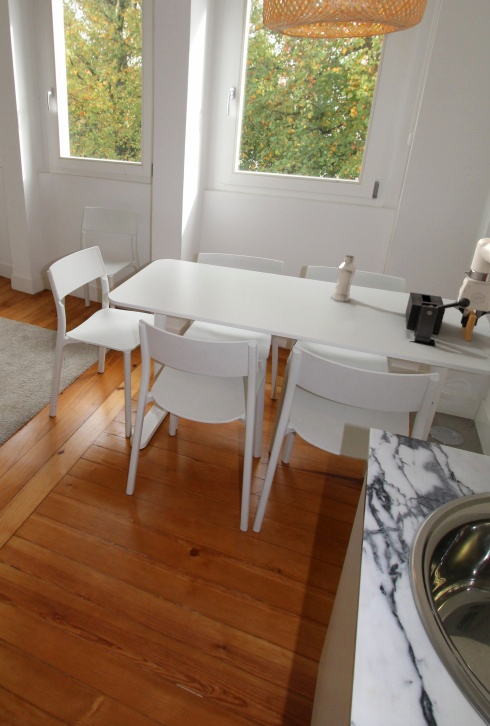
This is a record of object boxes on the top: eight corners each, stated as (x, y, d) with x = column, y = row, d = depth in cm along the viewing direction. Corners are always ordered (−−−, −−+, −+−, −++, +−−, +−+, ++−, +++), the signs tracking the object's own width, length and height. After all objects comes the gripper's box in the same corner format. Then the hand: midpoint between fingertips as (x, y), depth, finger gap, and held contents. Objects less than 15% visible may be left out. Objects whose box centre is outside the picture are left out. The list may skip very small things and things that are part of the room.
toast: (464, 333, 167) (472, 307, 163) (468, 344, 158) (476, 317, 155) (459, 332, 167) (467, 306, 164) (463, 343, 159) (471, 316, 155)
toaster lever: (470, 304, 150) (468, 295, 150) (472, 307, 148) (469, 298, 147) (425, 313, 157) (422, 304, 156) (425, 316, 154) (423, 308, 154)
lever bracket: (433, 340, 161) (442, 303, 156) (435, 349, 154) (445, 311, 149) (407, 335, 164) (415, 299, 159) (407, 344, 157) (417, 306, 152)
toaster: (434, 324, 174) (441, 296, 170) (437, 338, 162) (445, 309, 158) (403, 319, 178) (410, 292, 174) (405, 333, 166) (412, 304, 162)
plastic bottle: (351, 304, 191) (362, 258, 183) (338, 307, 189) (349, 260, 180) (340, 298, 197) (350, 253, 188) (327, 300, 194) (337, 254, 186)
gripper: (456, 275, 154) (442, 326, 161) (513, 282, 148) (496, 335, 155) (453, 269, 161) (440, 318, 167) (508, 276, 154) (492, 327, 161)
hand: (467, 326), depth 161 cm, fingers closed
